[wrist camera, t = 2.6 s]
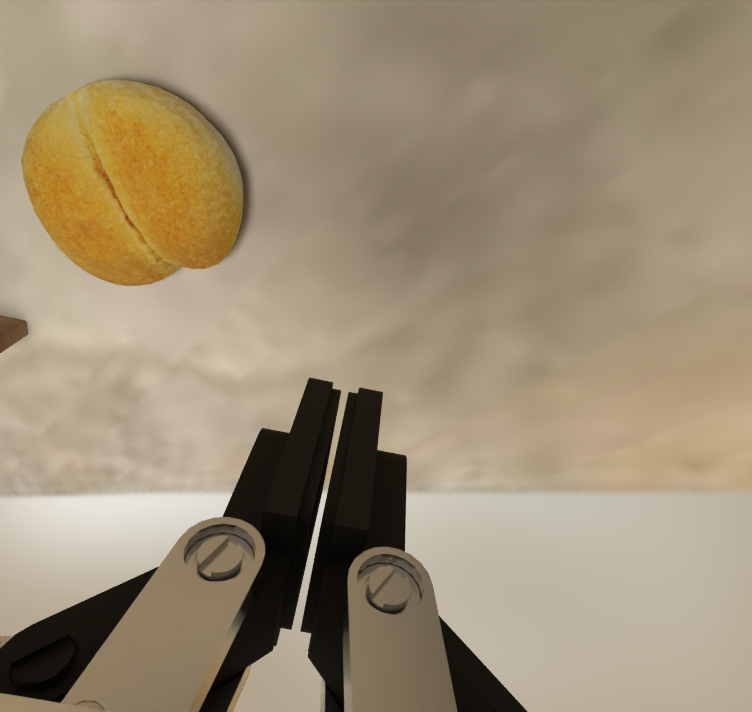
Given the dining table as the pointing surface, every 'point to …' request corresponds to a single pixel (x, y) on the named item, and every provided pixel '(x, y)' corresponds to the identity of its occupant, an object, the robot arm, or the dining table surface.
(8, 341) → the brown wooden box
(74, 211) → the bread roll
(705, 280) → the dining table surface
